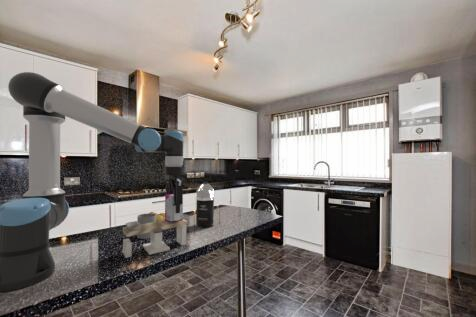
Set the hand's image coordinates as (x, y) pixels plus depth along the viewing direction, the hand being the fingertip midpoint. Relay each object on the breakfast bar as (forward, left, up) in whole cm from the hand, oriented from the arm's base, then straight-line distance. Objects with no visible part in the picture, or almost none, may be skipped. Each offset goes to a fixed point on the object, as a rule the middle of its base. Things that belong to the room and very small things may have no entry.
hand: (173, 218), depth 96 cm
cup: (-6, +19, -12) cm, 23 cm away
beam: (-7, 0, -3) cm, 8 cm away
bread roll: (+5, +33, -12) cm, 35 cm away
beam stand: (-7, 0, -11) cm, 14 cm away
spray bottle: (+26, +19, -12) cm, 34 cm away
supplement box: (0, 0, -1) cm, 1 cm away
